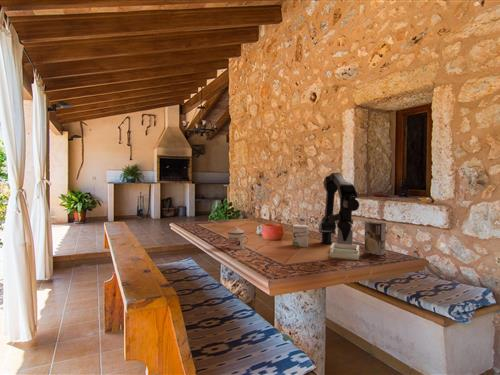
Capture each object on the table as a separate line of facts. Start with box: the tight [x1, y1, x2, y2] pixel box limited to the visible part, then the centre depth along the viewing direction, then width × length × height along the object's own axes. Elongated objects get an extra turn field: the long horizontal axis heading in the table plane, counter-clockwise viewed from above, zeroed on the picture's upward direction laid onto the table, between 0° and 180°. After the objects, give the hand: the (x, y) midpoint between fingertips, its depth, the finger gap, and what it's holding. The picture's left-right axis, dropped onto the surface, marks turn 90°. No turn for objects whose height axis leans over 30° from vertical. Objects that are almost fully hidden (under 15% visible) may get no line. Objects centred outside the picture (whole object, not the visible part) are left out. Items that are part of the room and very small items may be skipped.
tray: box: [329, 248, 361, 261], centre depth 159 cm, size 10×14×2 cm
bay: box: [329, 242, 360, 252], centre depth 171 cm, size 14×14×2 cm
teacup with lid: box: [227, 226, 250, 250], centre depth 175 cm, size 12×9×12 cm
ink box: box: [292, 223, 309, 248], centre depth 183 cm, size 8×5×12 cm, turn 76°
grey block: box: [336, 227, 354, 245], centre depth 159 cm, size 5×7×7 cm
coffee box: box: [364, 221, 387, 256], centre depth 167 cm, size 9×6×16 cm
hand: (345, 240), depth 159 cm, fingers closed on grey block, 5 cm apart
